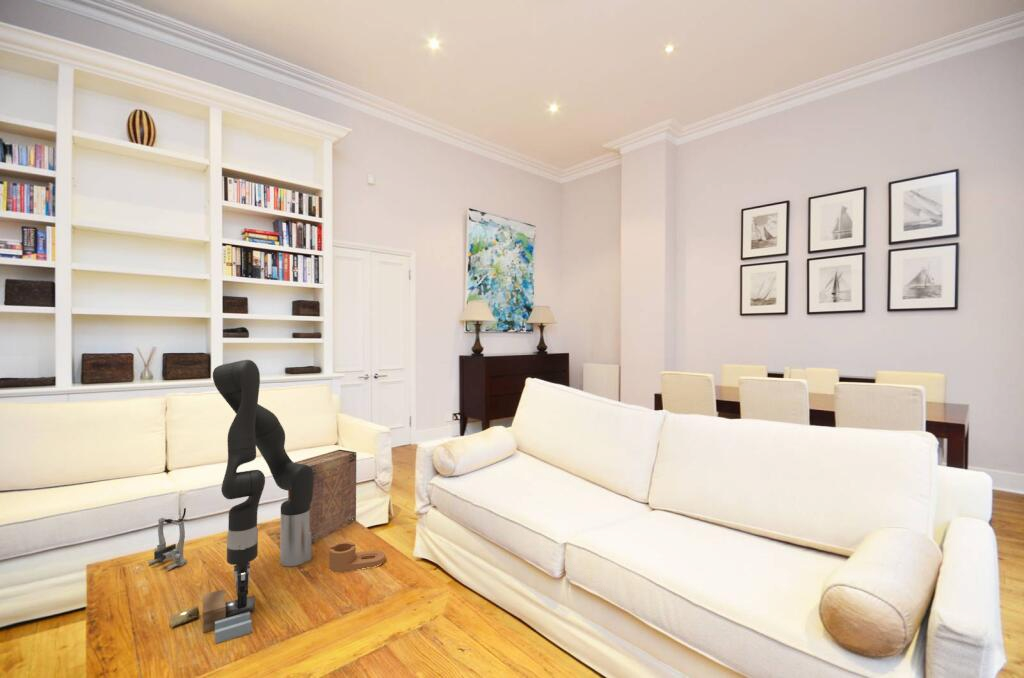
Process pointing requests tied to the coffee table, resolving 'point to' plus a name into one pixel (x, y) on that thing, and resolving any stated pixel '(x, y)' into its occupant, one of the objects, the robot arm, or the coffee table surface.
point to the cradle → (232, 627)
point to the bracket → (352, 557)
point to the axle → (233, 610)
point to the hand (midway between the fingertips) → (241, 599)
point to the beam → (213, 609)
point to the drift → (184, 616)
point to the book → (332, 492)
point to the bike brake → (171, 551)
